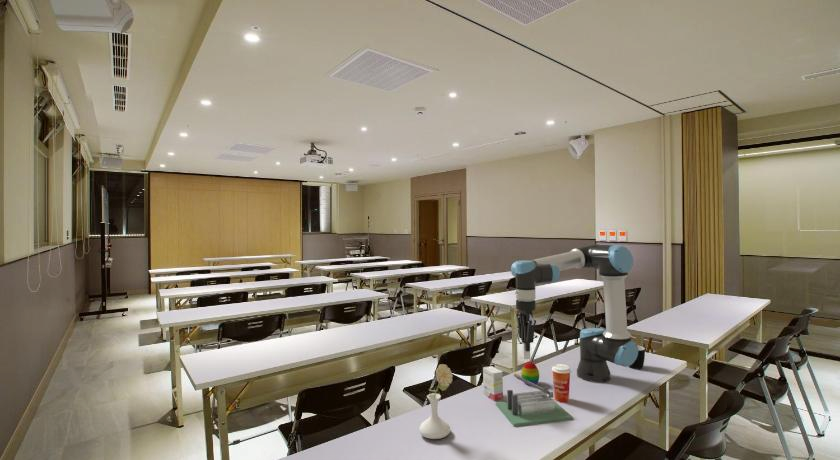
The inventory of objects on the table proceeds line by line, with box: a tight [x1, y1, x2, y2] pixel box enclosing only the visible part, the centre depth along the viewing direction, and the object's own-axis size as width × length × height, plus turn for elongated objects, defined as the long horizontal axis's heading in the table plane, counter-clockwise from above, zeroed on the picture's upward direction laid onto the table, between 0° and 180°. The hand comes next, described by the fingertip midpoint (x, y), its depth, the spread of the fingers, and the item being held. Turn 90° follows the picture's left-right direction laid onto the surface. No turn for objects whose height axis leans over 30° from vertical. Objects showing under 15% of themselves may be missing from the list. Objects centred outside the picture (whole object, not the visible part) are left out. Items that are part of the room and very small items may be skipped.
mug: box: [627, 344, 646, 370], centre depth 204 cm, size 12×9×10 cm
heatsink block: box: [513, 387, 555, 417], centre depth 159 cm, size 15×10×7 cm
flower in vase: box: [418, 363, 454, 440], centre depth 144 cm, size 13×11×25 cm
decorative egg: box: [520, 361, 540, 386], centre depth 186 cm, size 8×8×10 cm
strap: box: [513, 372, 550, 396], centre depth 159 cm, size 17×3×1 cm, turn 101°
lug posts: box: [506, 389, 518, 415], centre depth 157 cm, size 2×5×8 cm, turn 11°
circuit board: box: [495, 400, 573, 427], centre depth 159 cm, size 24×18×1 cm
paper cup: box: [551, 363, 572, 403], centre depth 169 cm, size 8×8×14 cm
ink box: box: [482, 365, 504, 402], centre depth 173 cm, size 9×5×12 cm, turn 24°
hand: (526, 358), depth 158 cm, fingers closed
